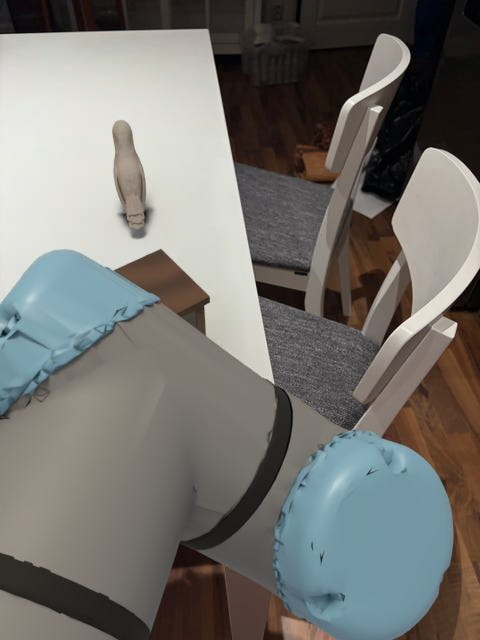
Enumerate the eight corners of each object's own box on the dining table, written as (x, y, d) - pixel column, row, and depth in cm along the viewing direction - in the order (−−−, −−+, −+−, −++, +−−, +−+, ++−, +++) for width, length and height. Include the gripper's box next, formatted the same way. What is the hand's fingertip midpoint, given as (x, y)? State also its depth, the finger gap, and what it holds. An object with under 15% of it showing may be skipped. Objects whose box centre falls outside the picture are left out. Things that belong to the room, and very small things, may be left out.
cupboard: (213, 373, 67) (210, 296, 57) (100, 441, 60) (72, 367, 50) (171, 327, 72) (161, 248, 62) (63, 384, 66) (31, 307, 55)
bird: (146, 190, 94) (134, 109, 83) (154, 237, 86) (142, 153, 75) (118, 193, 94) (103, 112, 83) (124, 241, 85) (107, 156, 74)
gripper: (63, 659, 28) (32, 535, 47) (383, 415, 38) (251, 395, 57) (-7, 541, 27) (-10, 464, 46) (342, 323, 37) (221, 334, 56)
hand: (135, 425), depth 52 cm, fingers open, 13 cm apart
